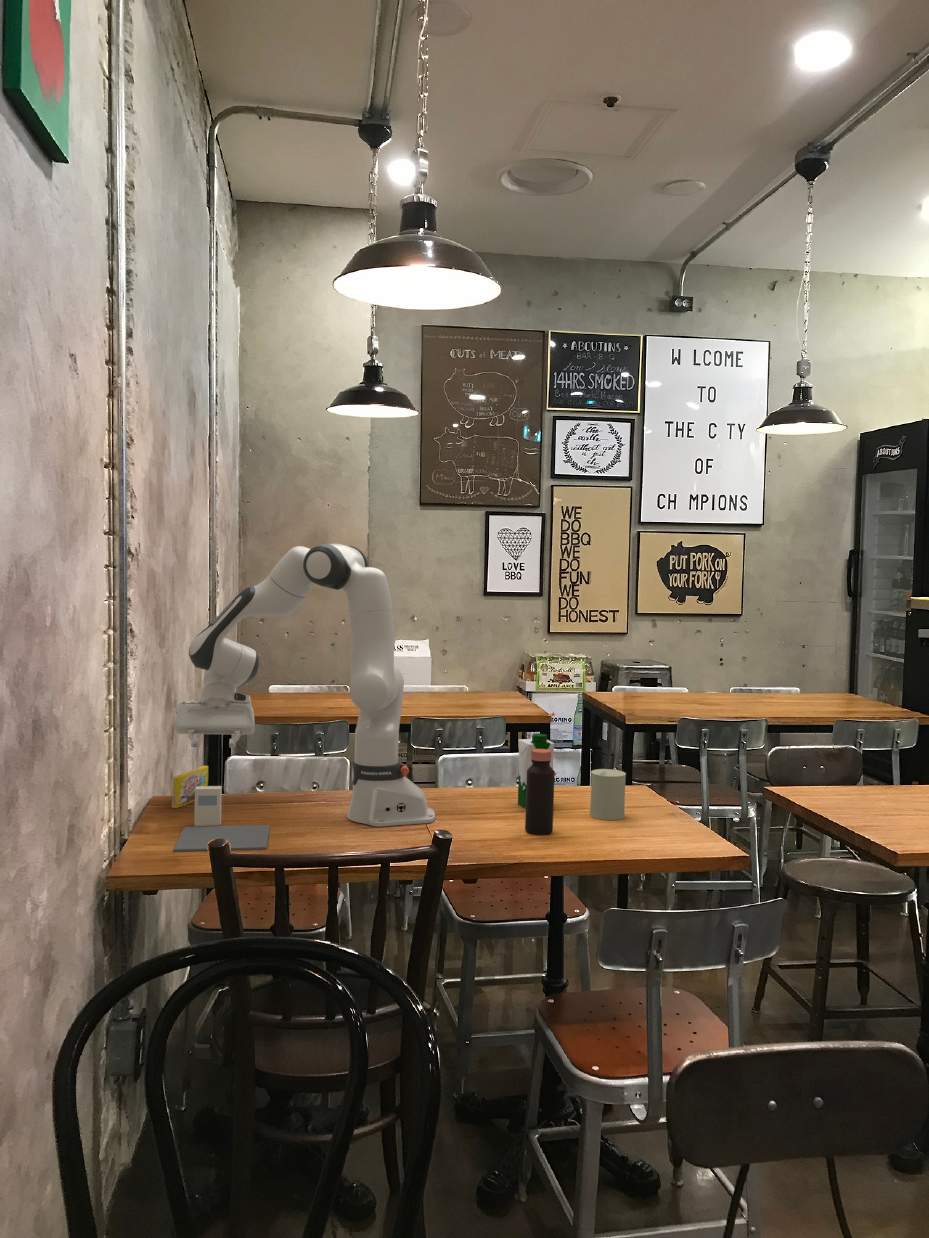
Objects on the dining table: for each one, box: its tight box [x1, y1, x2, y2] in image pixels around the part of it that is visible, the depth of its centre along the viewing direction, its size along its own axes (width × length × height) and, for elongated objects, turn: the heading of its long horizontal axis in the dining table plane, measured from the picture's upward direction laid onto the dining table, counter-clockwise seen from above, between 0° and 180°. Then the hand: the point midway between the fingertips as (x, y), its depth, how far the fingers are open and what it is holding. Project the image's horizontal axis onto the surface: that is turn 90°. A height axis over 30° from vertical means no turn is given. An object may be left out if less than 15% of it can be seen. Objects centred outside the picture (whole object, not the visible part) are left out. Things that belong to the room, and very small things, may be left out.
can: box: [589, 768, 627, 821], centre depth 236 cm, size 9×9×12 cm
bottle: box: [524, 749, 556, 836], centre depth 219 cm, size 7×7×20 cm
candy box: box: [171, 765, 209, 809], centre depth 240 cm, size 16×2×8 cm, turn 168°
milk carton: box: [517, 733, 555, 810], centre depth 244 cm, size 9×9×20 cm
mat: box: [172, 824, 271, 853], centre depth 207 cm, size 20×18×1 cm
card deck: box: [193, 785, 223, 827], centre depth 219 cm, size 6×3×9 cm, turn 100°
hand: (213, 746), depth 230 cm, fingers open, 8 cm apart
